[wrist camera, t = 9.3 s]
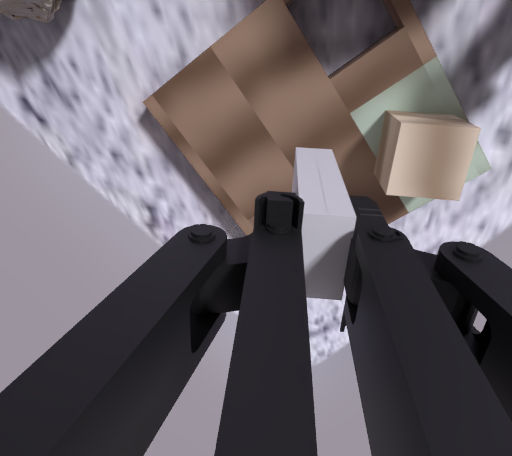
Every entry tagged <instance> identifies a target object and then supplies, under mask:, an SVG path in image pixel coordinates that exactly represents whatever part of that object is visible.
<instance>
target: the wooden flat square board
mask: <svg viewBox="0 0 512 456" xmlns="http://www.w3.org/2000/svg"><path fill="white" fill-rule="evenodd" d="M293 1H295V0H266V1H265V2H264V3H262V4H261V5H260V6H259V7H258V8H256V9H255V10H254V11H253V12H251V13H250V14H249V15H248V16H247V17H245V18H244V19H243V20H242V21H241V22H239V23H238V24H237V25H236V26H235V27H233V28H232V29H231V30H230V31H228V32H227V33H226V34H225V35H224V36H222V37H221V38H220V39H219V40H218V41H216V42H215V43H214V44H213V45H211V46H210V47H209V48H208V49H207V50H205V51H204V52H203V53H202V54H201V55H199V56H198V57H197V58H196V59H195V60H193V61H192V62H191V63H190V64H188V65H187V66H186V67H185V68H184V69H182V70H181V71H180V72H179V73H178V74H176V75H175V76H174V77H173V78H172V79H170V80H169V81H168V82H167V83H165V84H164V85H163V86H162V87H161V88H159V89H158V90H157V91H156V92H155V93H153V94H152V95H151V96H150V97H148V98H147V99H146V100H145V101H144V102H143V103H144V105H145V106H146V107H147V108H148V110H149V111H150V112H151V114H152V115H153V116H154V117H155V119H156V120H157V121H158V123H159V124H160V125H161V126H162V128H163V129H164V130H165V132H166V133H167V134H168V135H169V137H170V138H171V139H172V141H173V142H174V143H175V144H176V146H177V147H178V148H179V150H180V151H181V152H182V153H183V155H184V156H185V157H186V158H187V160H188V161H189V162H190V164H191V165H192V166H193V167H194V169H195V170H196V171H197V173H198V174H199V175H200V176H201V178H202V179H203V180H204V182H205V183H206V184H207V185H208V187H209V188H210V189H211V191H212V192H213V193H214V194H215V196H216V197H217V198H218V200H219V201H220V202H221V203H222V205H223V206H224V207H225V209H226V210H227V211H228V212H229V214H230V215H231V216H232V218H233V219H234V220H235V221H236V223H237V224H238V225H239V227H240V228H241V229H242V230H243V232H244V233H245V234H246V236H247V235H249V234H251V233H252V232H253V228H254V210H255V199H256V197H257V196H258V195H260V194H262V193H266V192H267V191H277V192H292V183H293V172H294V161H295V151H296V147H301V148H317V149H332V151H333V154H334V156H335V159H336V162H337V165H338V167H339V170H340V173H341V176H342V179H343V181H344V184H345V187H346V190H347V192H348V195H352V196H367V197H369V198H370V199H372V200H373V201H375V202H376V203H377V205H378V207H379V208H380V211H381V212H382V214H383V216H384V218H385V220H386V222H387V224H389V223H391V222H393V221H395V220H397V219H399V218H400V217H402V216H404V215H406V214H408V213H410V212H412V211H414V210H415V209H417V208H419V207H421V206H423V205H425V204H427V203H429V202H430V201H432V200H434V199H432V198H419V197H407V196H394V195H386V194H385V192H384V190H383V188H382V187H381V185H380V183H379V182H378V180H377V178H376V176H375V175H374V168H375V163H376V158H377V153H378V147H379V142H380V137H381V132H382V127H383V121H384V116H385V111H386V110H391V111H406V112H421V113H435V114H450V115H455V116H457V117H459V118H461V119H463V120H465V121H467V122H469V121H468V119H467V117H466V115H465V113H464V111H463V109H462V107H461V105H460V103H459V101H458V99H457V96H456V94H455V92H454V90H453V88H452V86H451V84H450V82H449V80H448V78H447V76H446V74H445V72H444V70H443V68H442V66H441V64H440V61H439V59H438V57H437V55H436V53H435V51H434V49H433V47H432V45H431V43H430V41H429V39H428V37H427V35H426V33H425V31H424V29H423V27H422V24H421V22H420V20H419V18H418V16H417V14H416V12H415V10H414V8H413V6H412V4H411V2H410V0H382V1H383V3H384V5H385V7H386V9H387V11H388V12H389V14H390V16H391V18H392V20H393V22H394V24H395V26H396V29H394V30H393V31H391V32H390V33H388V34H387V35H386V36H384V37H383V38H381V39H380V40H379V41H377V42H376V43H374V44H373V45H371V46H370V47H369V48H367V49H366V50H364V51H363V52H362V53H360V54H359V55H357V56H356V57H354V58H353V59H352V60H350V61H349V62H347V63H346V64H345V65H343V66H342V67H340V68H339V69H337V70H336V71H335V72H333V73H332V74H330V75H329V76H327V74H326V72H325V71H324V69H323V67H322V66H321V64H320V62H319V61H318V59H317V57H316V56H315V54H314V52H313V51H312V49H311V47H310V45H309V44H308V42H307V40H306V39H305V37H304V35H303V34H302V32H301V30H300V29H299V27H298V25H297V24H296V22H295V20H294V19H293V17H292V15H291V13H290V12H289V10H288V8H287V6H288V5H290V4H291V3H292V2H293ZM490 169H492V168H491V166H490V164H489V162H488V160H487V158H486V156H485V154H484V152H483V150H482V148H481V146H480V144H479V142H478V140H477V143H476V146H475V150H474V153H473V156H472V160H471V163H470V166H469V169H468V173H467V176H466V179H465V183H466V182H468V181H470V180H472V179H474V178H475V177H477V176H479V175H481V174H483V173H485V172H487V171H489V170H490Z"/></svg>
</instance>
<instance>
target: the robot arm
mask: <svg viewBox="0 0 512 456" xmlns="http://www.w3.org/2000/svg"><path fill="white" fill-rule="evenodd" d="M344 286H345V290H346V300H345V305H344V311H343V316H342V322H341V327H340V331H341V332H344V329H345V326H346V325H347V330H348V335H349V340H350V345H351V350H352V356H353V360H354V366H355V371H356V376H357V382H358V386H359V392H360V397H361V402H362V408H363V413H364V418H365V423H366V428H367V434H368V438H369V444H370V449H371V454H372V456H512V269H511V268H510V267H509V266H507V265H506V264H505V263H503V262H502V261H500V260H499V259H498V258H496V257H495V256H494V255H493V254H491V253H490V252H488V251H486V250H485V249H483V248H480V247H478V246H475V245H474V244H472V243H466V242H462V241H460V242H446V243H443V244H442V245H441V246H440V248H439V251H438V254H437V255H435V254H430V253H426V252H422V251H418V250H415V249H413V247H412V245H411V244H410V242H409V240H408V238H407V237H406V236H405V235H404V234H403V233H402V232H400V231H398V230H396V229H394V228H390V227H389V226H388V224H387V222H386V220H385V218H384V216H383V214H382V212H381V211H380V208H379V207H378V205H377V203H376V202H375V201H373V200H372V199H370V198H369V197H367V196H352V195H348V192H347V190H346V187H345V184H344V181H343V179H342V176H341V173H340V170H339V167H338V165H337V162H336V159H335V156H334V154H333V151H332V149H317V148H301V147H296V151H295V161H294V172H293V183H292V192H277V191H267V192H266V193H262V194H260V195H258V196H257V197H256V199H255V210H254V228H253V232H252V233H251V234H249V235H247V236H245V237H241V238H236V239H227V235H226V233H225V231H224V230H222V229H221V228H219V227H215V226H212V225H206V224H200V225H199V224H197V225H193V226H190V227H186V228H184V229H182V230H181V231H179V232H178V233H177V234H176V235H175V236H173V237H172V238H171V239H170V240H169V241H168V242H167V243H166V244H165V245H163V246H162V247H161V248H160V249H159V250H158V251H157V252H156V253H155V254H154V255H152V256H151V257H150V258H149V259H148V260H147V261H146V262H145V263H144V264H143V265H142V266H140V267H139V268H138V269H137V270H136V271H135V272H134V273H133V274H132V275H130V276H129V277H128V278H127V279H126V280H125V281H124V282H123V283H122V284H120V285H119V286H118V287H117V288H116V289H115V290H114V291H113V292H112V293H110V294H109V295H108V296H107V297H106V298H105V299H104V300H103V301H102V302H101V303H99V304H98V305H97V306H96V307H95V308H94V309H93V310H92V311H90V312H89V313H88V314H87V315H86V316H85V317H84V318H83V319H82V320H80V321H79V322H78V323H77V324H76V325H75V326H74V327H73V328H72V329H71V330H69V331H68V332H67V333H66V334H65V335H64V336H63V337H62V338H61V339H59V340H58V341H57V342H56V343H55V344H54V345H53V346H52V347H51V348H50V349H48V350H47V351H46V352H45V353H44V354H43V355H42V356H41V357H40V358H38V359H37V360H36V361H35V362H34V363H33V364H32V365H31V366H30V367H29V368H27V369H26V370H25V371H24V372H23V373H22V374H21V375H20V376H19V377H18V378H16V379H15V380H14V381H13V382H12V383H11V384H10V385H9V386H7V387H6V388H5V389H4V390H3V391H2V392H1V393H0V456H143V455H144V454H145V452H146V451H147V449H148V447H149V446H150V444H151V442H152V441H153V439H154V437H155V435H156V434H157V432H158V430H159V429H160V427H161V426H162V424H163V422H164V421H165V419H166V417H167V416H168V413H169V412H170V411H171V409H172V407H173V406H174V404H175V402H176V401H177V399H178V397H179V396H180V394H181V392H182V391H183V389H184V387H185V386H186V384H187V382H188V381H189V379H190V377H191V376H192V374H193V372H194V371H195V369H196V367H197V366H198V364H199V362H200V361H201V358H202V357H203V356H204V354H205V352H206V351H207V349H208V347H209V346H210V344H211V342H212V341H213V339H214V337H215V335H216V334H217V332H218V331H219V329H220V327H221V326H222V324H223V322H224V321H225V317H226V312H231V311H238V310H239V315H238V321H237V327H236V333H235V339H234V344H233V350H232V356H231V362H230V368H229V374H228V379H227V386H226V391H225V397H224V403H223V409H222V414H221V420H220V426H219V432H218V438H217V443H216V450H215V455H214V456H317V443H316V428H315V414H314V401H313V386H312V373H311V357H310V343H309V329H308V314H307V300H306V297H309V298H321V299H333V300H342V296H343V290H344ZM478 311H479V312H480V313H482V315H483V316H485V318H486V319H487V321H486V323H485V326H484V329H483V330H482V332H481V333H480V332H479V331H478V330H476V328H475V327H474V326H473V323H474V321H475V318H476V315H477V313H478Z"/></svg>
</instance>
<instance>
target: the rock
mask: <svg viewBox="0 0 512 456" xmlns="http://www.w3.org/2000/svg"><path fill="white" fill-rule="evenodd" d="M61 2H62V0H0V13H2V14H3V15H4V16H5V17H7V18H9V19H12V20H21V19H22V18H25V17H26V18H29V19H32V20H36V21H41V22H45V23H48V22H50V21H51V20H52V19H54V14H55V12H56V11H57V10H58V9H59V7H60V3H61Z"/></svg>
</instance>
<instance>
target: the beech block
mask: <svg viewBox="0 0 512 456" xmlns="http://www.w3.org/2000/svg"><path fill="white" fill-rule="evenodd" d="M480 130H481V128H479V127H477V126H475V125H473V124H471V123H469V122H467V121H465V120H463V119H461V118H459V117H457V116H455V115H450V114H435V113H421V112H406V111H391V110H386V111H385V116H384V121H383V127H382V132H381V137H380V142H379V147H378V153H377V158H376V163H375V168H374V175H375V176H376V178H377V180H378V182H379V183H380V185H381V187H382V188H383V190H384V192H385V194H386V195H394V196H407V197H419V198H432V199H444V200H456V201H459V199H460V196H461V192H462V189H463V186H464V183H465V179H466V176H467V173H468V169H469V166H470V163H471V160H472V156H473V153H474V150H475V146H476V143H477V140H478V137H479V133H480Z"/></svg>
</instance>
